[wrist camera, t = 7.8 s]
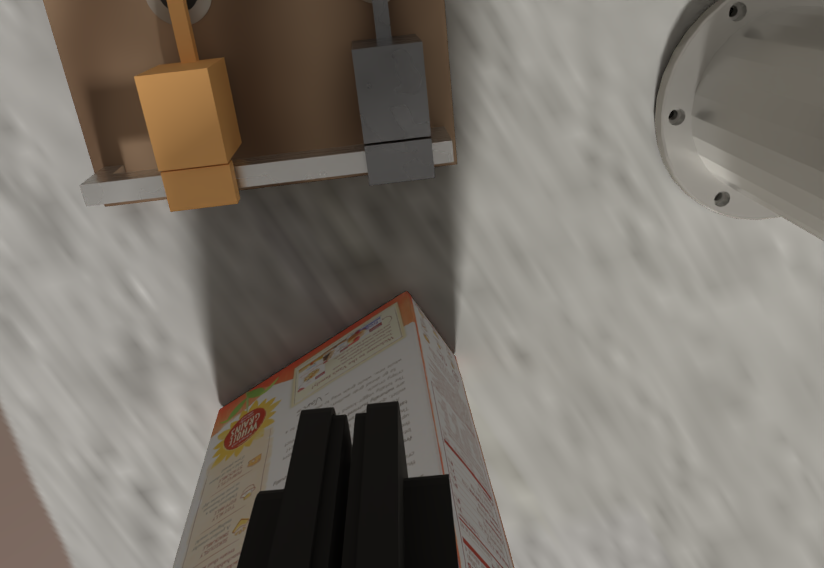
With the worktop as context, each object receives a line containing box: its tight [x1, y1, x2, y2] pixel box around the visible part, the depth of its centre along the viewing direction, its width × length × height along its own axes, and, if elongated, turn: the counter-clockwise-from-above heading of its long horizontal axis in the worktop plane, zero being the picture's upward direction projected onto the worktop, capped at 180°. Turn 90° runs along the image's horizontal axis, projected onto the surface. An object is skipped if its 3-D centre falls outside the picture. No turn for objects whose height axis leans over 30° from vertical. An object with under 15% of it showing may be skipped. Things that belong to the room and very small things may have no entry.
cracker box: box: [173, 291, 514, 568], centre depth 33 cm, size 14×6×21 cm, turn 123°
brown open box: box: [43, 0, 457, 207], centre depth 34 cm, size 18×12×2 cm, turn 96°
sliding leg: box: [134, 0, 242, 212], centre depth 31 cm, size 3×9×4 cm, turn 6°
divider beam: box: [80, 0, 454, 206], centre depth 31 cm, size 17×9×4 cm, turn 96°
